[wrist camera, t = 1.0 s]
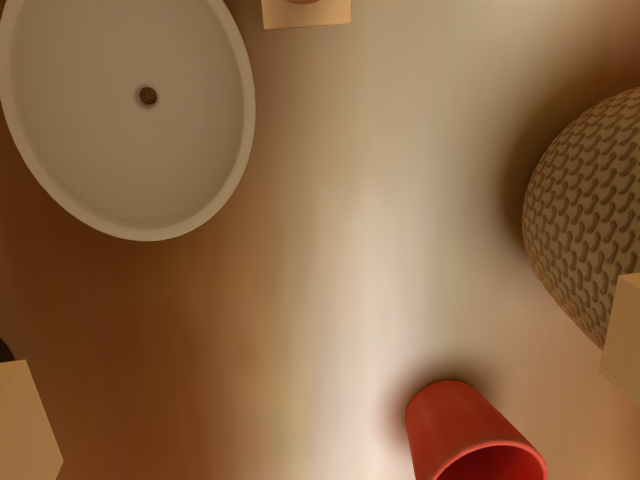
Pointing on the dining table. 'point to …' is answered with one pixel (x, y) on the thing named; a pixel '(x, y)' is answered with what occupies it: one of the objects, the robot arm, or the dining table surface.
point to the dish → (129, 108)
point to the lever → (305, 13)
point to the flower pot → (466, 438)
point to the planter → (587, 211)
